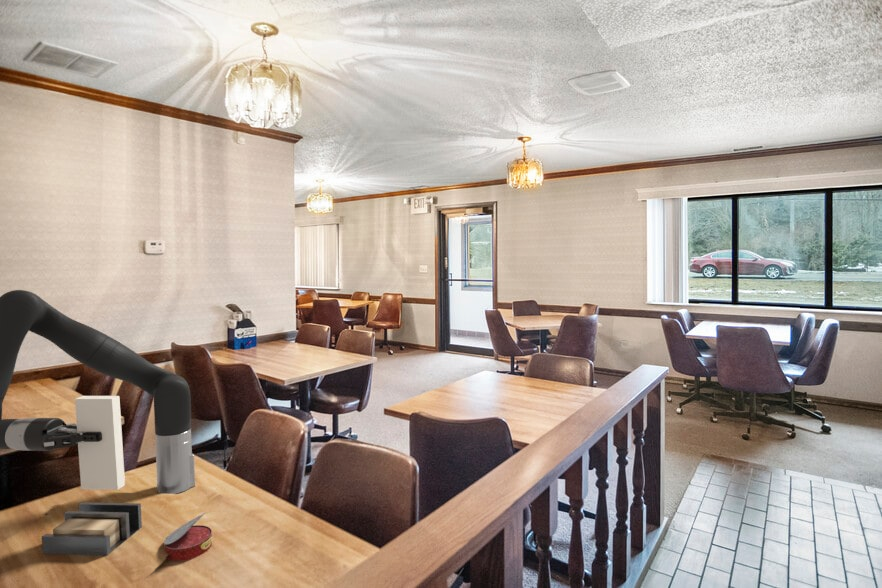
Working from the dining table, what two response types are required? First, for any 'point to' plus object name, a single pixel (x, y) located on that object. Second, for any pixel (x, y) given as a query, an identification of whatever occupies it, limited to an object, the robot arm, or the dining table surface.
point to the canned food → (188, 541)
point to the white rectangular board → (100, 443)
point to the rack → (95, 543)
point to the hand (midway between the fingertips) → (105, 434)
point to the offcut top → (87, 527)
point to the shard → (52, 509)
